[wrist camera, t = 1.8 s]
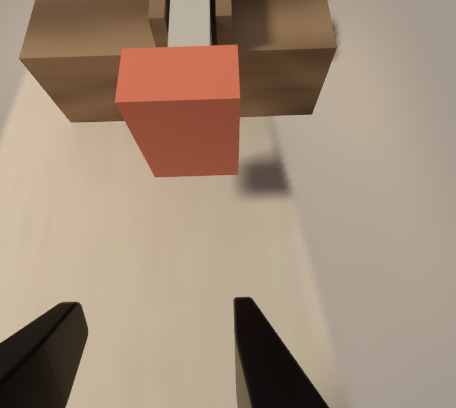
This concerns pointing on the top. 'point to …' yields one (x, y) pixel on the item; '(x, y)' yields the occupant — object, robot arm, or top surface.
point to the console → (158, 37)
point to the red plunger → (183, 97)
